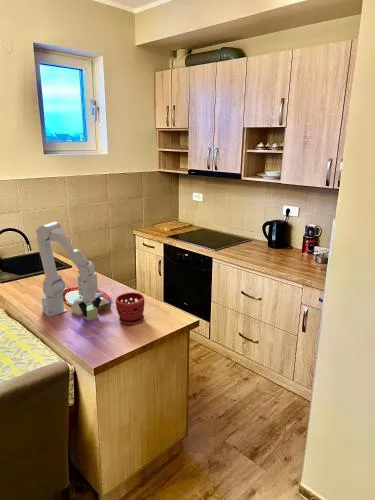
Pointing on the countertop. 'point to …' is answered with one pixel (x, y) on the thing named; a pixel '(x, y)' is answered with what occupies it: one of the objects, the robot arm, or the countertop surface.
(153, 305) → the countertop surface
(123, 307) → the plant pot
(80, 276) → the supplement box
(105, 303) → the walnut block
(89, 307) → the sage cube
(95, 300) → the robot arm
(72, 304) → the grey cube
